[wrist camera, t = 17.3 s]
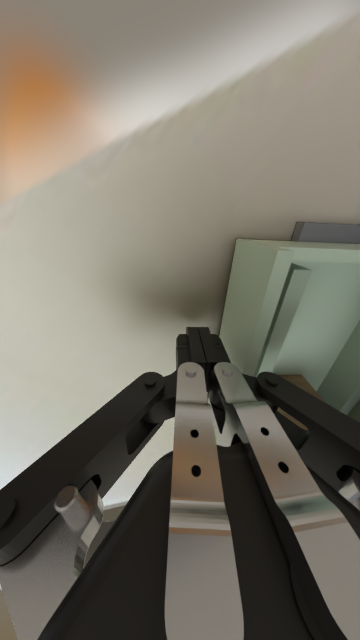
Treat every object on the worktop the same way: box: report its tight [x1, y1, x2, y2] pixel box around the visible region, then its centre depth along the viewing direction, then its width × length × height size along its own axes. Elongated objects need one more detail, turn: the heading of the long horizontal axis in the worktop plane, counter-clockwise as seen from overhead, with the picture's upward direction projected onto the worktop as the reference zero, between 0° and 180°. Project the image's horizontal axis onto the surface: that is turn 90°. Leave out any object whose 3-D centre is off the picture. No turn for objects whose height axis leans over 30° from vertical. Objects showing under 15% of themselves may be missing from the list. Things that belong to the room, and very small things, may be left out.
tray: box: [208, 239, 360, 445], centre depth 15 cm, size 14×20×5 cm
